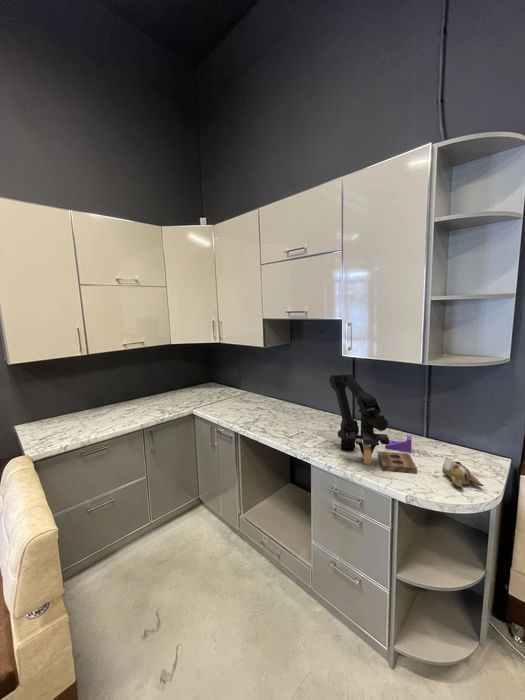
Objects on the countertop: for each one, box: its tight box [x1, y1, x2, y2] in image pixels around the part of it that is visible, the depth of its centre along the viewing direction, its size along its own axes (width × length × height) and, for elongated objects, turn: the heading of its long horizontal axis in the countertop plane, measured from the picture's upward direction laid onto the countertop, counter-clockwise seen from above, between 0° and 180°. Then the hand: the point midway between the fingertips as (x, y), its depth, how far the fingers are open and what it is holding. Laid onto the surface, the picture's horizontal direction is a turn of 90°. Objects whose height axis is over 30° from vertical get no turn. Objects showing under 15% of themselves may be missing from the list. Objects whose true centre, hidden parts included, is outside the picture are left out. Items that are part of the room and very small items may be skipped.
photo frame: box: [284, 430, 328, 449], centre depth 171 cm, size 15×1×18 cm
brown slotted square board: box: [377, 451, 418, 474], centre depth 141 cm, size 14×14×2 cm
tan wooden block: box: [361, 444, 372, 465], centre depth 144 cm, size 3×8×6 cm, turn 168°
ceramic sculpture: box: [441, 456, 484, 489], centre depth 125 cm, size 11×9×15 cm
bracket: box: [384, 434, 412, 454], centre depth 157 cm, size 12×7×7 cm, turn 65°
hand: (366, 455), depth 144 cm, fingers closed on tan wooden block, 3 cm apart
